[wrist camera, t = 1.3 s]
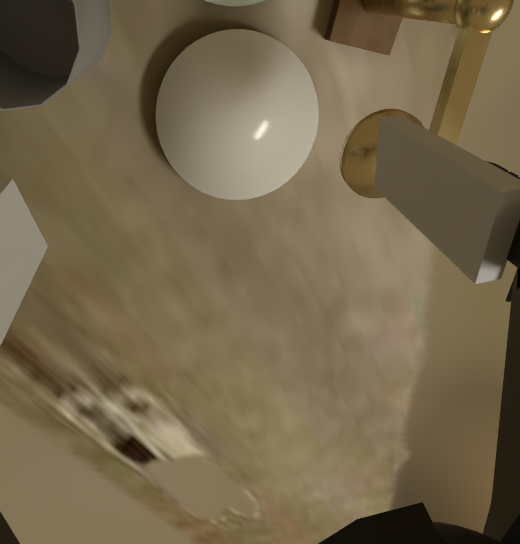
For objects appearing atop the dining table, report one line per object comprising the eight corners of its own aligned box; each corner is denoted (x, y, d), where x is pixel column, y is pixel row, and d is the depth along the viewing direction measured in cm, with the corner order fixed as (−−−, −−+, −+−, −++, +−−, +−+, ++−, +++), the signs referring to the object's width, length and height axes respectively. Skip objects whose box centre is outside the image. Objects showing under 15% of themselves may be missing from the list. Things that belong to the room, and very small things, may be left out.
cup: (-55, 3, 25) (-167, 10, 17) (11, -118, 22) (-84, -178, 14) (68, 102, 29) (26, 144, 21) (136, 10, 27) (117, 19, 19)
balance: (352, 152, 35) (449, 244, 22) (294, 143, 34) (363, 235, 21) (476, -209, 23) (838, -453, 10) (393, -248, 22) (696, -586, 9)
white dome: (152, 184, 34) (151, 190, 33) (161, 8, 27) (161, 8, 26) (292, 202, 37) (295, 207, 36) (334, 49, 30) (339, 51, 29)
